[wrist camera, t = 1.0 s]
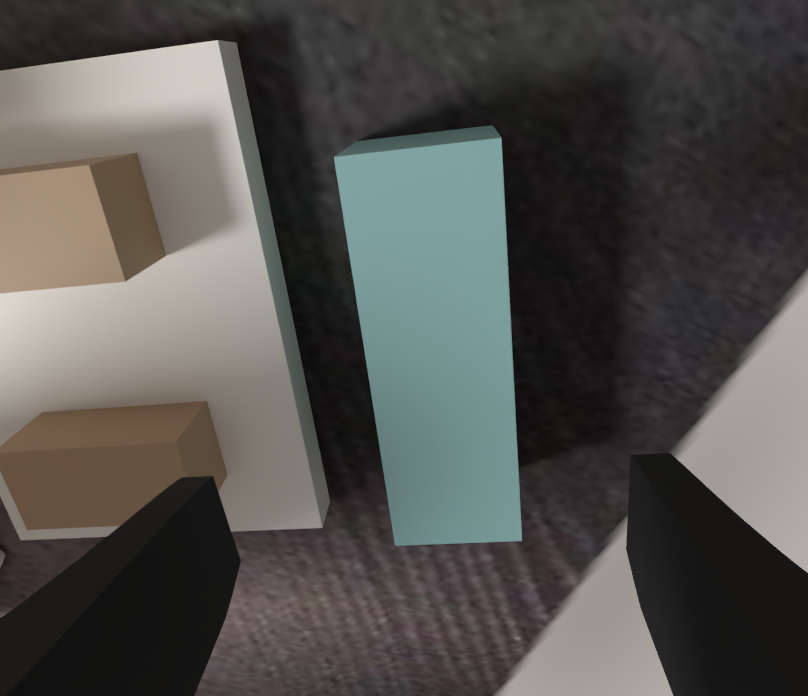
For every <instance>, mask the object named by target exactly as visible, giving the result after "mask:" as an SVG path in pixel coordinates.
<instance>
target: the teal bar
mask: <svg viewBox="0 0 808 696" xmlns="http://www.w3.org/2000/svg"><path fill="white" fill-rule="evenodd" d="M334 161H335V167H336V173H337V180H338V186H339V192H340V199H341V205H342V211H343V218H344V224H345V231H346V237H347V243H348V250H349V256H350V262H351V269H352V275H353V281H354V288H355V294H356V300H357V307H358V313H359V320H360V326H361V332H362V339H363V345H364V351H365V358H366V364H367V370H368V377H369V383H370V389H371V396H372V402H373V408H374V415H375V421H376V428H377V434H378V440H379V447H380V453H381V459H382V466H383V472H384V478H385V485H386V491H387V497H388V504H389V510H390V517H391V523H392V529H393V536H394V542H395V546H402V545H428V544H454V543H480V542H505V541H522V530H521V511H520V491H519V472H518V452H517V433H516V413H515V393H514V374H513V354H512V335H511V315H510V295H509V276H508V256H507V237H506V217H505V198H504V178H503V158H502V139H501V136H500V135H499V134H498V132H497V131H496V129H495V128H494V127H493V125H490V126H481V127H473V128H464V129H456V130H447V131H439V132H430V133H422V134H413V135H405V136H396V137H388V138H379V139H371V140H362V141H356V142H355V143H353V144H352V145H350V146H349V147H348V148H346V149H345V150H343V151H342V152H340V153H339V154H338V155H336V156H335V157H334Z"/></svg>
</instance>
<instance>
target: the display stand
mask: <svg viewBox="0 0 808 696" xmlns="http://www.w3.org/2000/svg"><path fill="white" fill-rule="evenodd" d="M202 476H213V477H214V480H215V483H216V486H217V489H218V492H219V496H220V499H221V502H222V505H223V508H224V511H225V514H226V517H227V520H228V523H229V526H230V530H231V532H235V531H259V530H283V529H307V528H322V527H323V524H324V521H325V517H326V514H327V511H328V507H329V504H330V499H329V494H328V489H327V484H326V479H325V474H324V469H323V464H322V459H321V454H320V450H319V445H318V440H317V435H316V430H315V425H314V420H313V415H312V410H311V405H310V401H309V396H308V391H307V386H306V381H305V376H304V371H303V366H302V361H301V356H300V351H299V347H298V342H297V337H296V332H295V327H294V322H293V317H292V312H291V307H290V302H289V298H288V293H287V288H286V283H285V278H284V273H283V268H282V263H281V258H280V253H279V249H278V244H277V239H276V234H275V229H274V224H273V219H272V214H271V209H270V204H269V199H268V195H267V190H266V185H265V180H264V175H263V170H262V165H261V160H260V155H259V150H258V146H257V141H256V136H255V131H254V126H253V121H252V116H251V111H250V106H249V101H248V97H247V92H246V87H245V82H244V77H243V72H242V67H241V62H240V57H239V52H238V47H237V43H235V42H228V41H221V40H215V41H208V42H201V43H194V44H186V45H179V46H172V47H165V48H158V49H151V50H144V51H137V52H130V53H123V54H116V55H109V56H102V57H95V58H88V59H81V60H73V61H66V62H59V63H52V64H45V65H38V66H31V67H24V68H17V69H10V70H3V71H0V497H1V499H2V502H3V504H4V506H5V508H6V510H7V512H8V514H9V517H10V519H11V521H12V523H13V525H14V527H15V529H16V532H17V534H18V536H19V538H20V540H42V539H66V538H90V537H107V536H108V535H110V534H111V533H112V532H113V531H114V530H116V529H117V528H118V527H119V526H121V525H122V524H123V523H124V522H125V521H127V520H128V519H129V518H130V517H132V516H133V515H134V514H135V513H136V512H138V511H139V510H140V509H141V508H142V507H144V506H145V505H146V504H147V503H149V502H150V501H151V500H152V499H154V498H155V497H156V496H157V495H159V494H160V493H161V492H162V491H164V490H165V489H166V488H167V487H169V486H170V485H171V484H173V483H174V482H176V481H177V480H178V479H180V478H182V477H202Z"/></svg>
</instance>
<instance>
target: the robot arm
mask: <svg viewBox="0 0 808 696" xmlns="http://www.w3.org/2000/svg"><path fill="white" fill-rule="evenodd" d="M626 550H627V554H628V558H629V562H630V566H631V570H632V575H633V579H634V583H635V587H636V590H637V595H638V599H639V602H640V606H641V610H642V612H643V615H644V618H645V621H646V623H647V626H648V629H649V631H650V634H651V637H652V640H653V642H654V645H655V648H656V650H657V653H658V656H659V658H660V661H661V663H662V666H663V669H664V672H665V674H666V677H667V680H668V682H669V685H670V687H671V690H672V693H673V695H674V696H808V573H807V572H806V571H804V570H803V569H802V568H800V567H799V566H798V565H796V564H795V563H794V562H793V561H791V560H790V559H789V558H788V557H786V556H785V555H784V554H783V553H781V552H780V551H779V550H778V549H777V548H776V547H774V546H773V545H772V544H771V543H769V541H767V540H766V539H765V538H764V537H763V536H761V535H760V534H759V533H758V532H757V531H756V530H754V529H753V528H752V527H751V526H750V525H749V524H747V523H746V522H745V521H744V520H743V519H742V518H741V517H739V516H738V515H737V514H736V513H735V512H734V511H733V510H731V509H730V508H729V507H728V506H727V505H726V504H725V503H724V502H723V501H722V500H721V499H719V498H718V497H717V496H716V495H715V494H714V493H713V492H712V491H710V489H708V488H707V487H706V486H705V485H704V484H703V483H702V482H701V481H700V480H699V479H698V478H697V477H696V476H694V475H693V474H692V473H691V472H690V471H689V470H688V469H687V468H686V467H685V466H684V465H682V464H681V463H680V462H679V461H678V460H677V459H676V458H675V457H674V456H672V455H671V454H670V453H664V454H644V455H631V465H630V485H629V505H628V525H627V546H626ZM240 562H241V560H240V557H239V554H238V551H237V548H236V545H235V542H234V539H233V536H232V533H231V530H230V526H229V523H228V520H227V517H226V514H225V511H224V508H223V505H222V502H221V499H220V496H219V492H218V489H217V486H216V483H215V480H214V477H213V476H202V477H182V478H180V479H178V480H177V481H176V482H174V483H173V484H171V485H170V486H169V487H167V488H166V489H165V490H164V491H162V492H161V493H160V494H159V495H157V496H156V497H155V498H154V499H152V500H151V501H150V502H149V503H147V504H146V505H145V506H144V507H142V508H141V509H140V510H139V511H138V512H136V513H135V514H134V515H133V516H132V517H130V518H129V519H128V520H127V521H125V522H124V523H123V524H122V525H121V526H119V527H118V528H117V529H116V530H114V531H113V532H112V533H111V534H110V535H108V536H107V537H106V538H105V539H103V540H102V541H101V542H100V543H99V544H97V545H96V546H95V547H94V548H92V549H91V550H90V551H89V552H87V553H86V554H85V555H84V556H83V557H81V558H80V559H79V560H78V561H76V562H75V563H74V564H72V565H71V566H70V567H68V568H67V569H66V570H64V571H63V572H62V573H60V574H59V575H58V576H57V577H55V578H54V579H53V580H51V581H50V582H49V583H47V584H46V585H45V586H43V587H42V588H41V589H39V590H38V591H37V592H36V593H34V594H33V595H32V596H30V597H29V598H28V599H26V600H25V601H24V602H22V603H21V604H20V605H18V606H17V607H16V608H14V609H13V610H11V611H10V612H9V613H7V614H6V615H4V616H3V617H2V618H0V696H194V694H195V692H196V690H197V687H198V685H199V682H200V680H201V677H202V675H203V673H204V670H205V668H206V665H207V663H208V660H209V658H210V655H211V653H212V650H213V648H214V646H215V643H216V641H217V638H218V636H219V633H220V631H221V628H222V625H223V623H224V620H225V618H226V615H227V611H228V608H229V604H230V601H231V597H232V594H233V590H234V586H235V582H236V578H237V574H238V570H239V566H240Z"/></svg>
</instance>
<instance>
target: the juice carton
mask: <svg viewBox="0 0 808 696" xmlns="http://www.w3.org/2000/svg"><path fill="white" fill-rule="evenodd" d="M4 558H5V553H4V552H3V551H2V550H1V549H0V568H1V565H2V563H3V561H4Z"/></svg>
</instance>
